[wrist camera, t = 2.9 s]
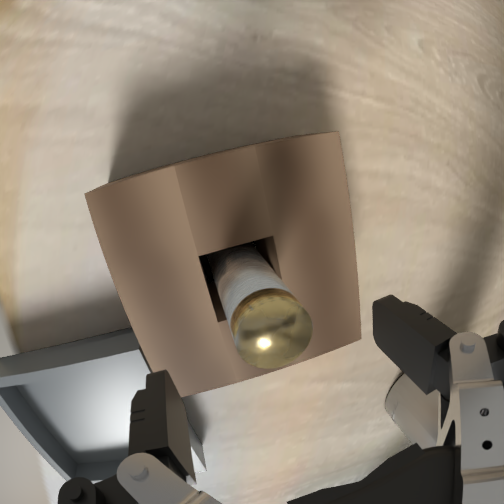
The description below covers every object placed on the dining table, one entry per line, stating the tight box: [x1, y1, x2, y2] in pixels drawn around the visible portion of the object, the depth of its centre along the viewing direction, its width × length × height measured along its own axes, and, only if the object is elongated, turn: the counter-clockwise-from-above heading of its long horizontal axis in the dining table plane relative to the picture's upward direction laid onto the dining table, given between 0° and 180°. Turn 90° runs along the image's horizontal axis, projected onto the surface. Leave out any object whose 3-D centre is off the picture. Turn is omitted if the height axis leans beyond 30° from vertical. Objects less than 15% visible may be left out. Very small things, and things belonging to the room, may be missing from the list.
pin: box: [207, 242, 313, 369], centre depth 18 cm, size 3×3×12 cm
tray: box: [0, 327, 207, 484], centre depth 24 cm, size 16×16×4 cm
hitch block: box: [85, 131, 361, 397], centre depth 21 cm, size 14×14×6 cm
